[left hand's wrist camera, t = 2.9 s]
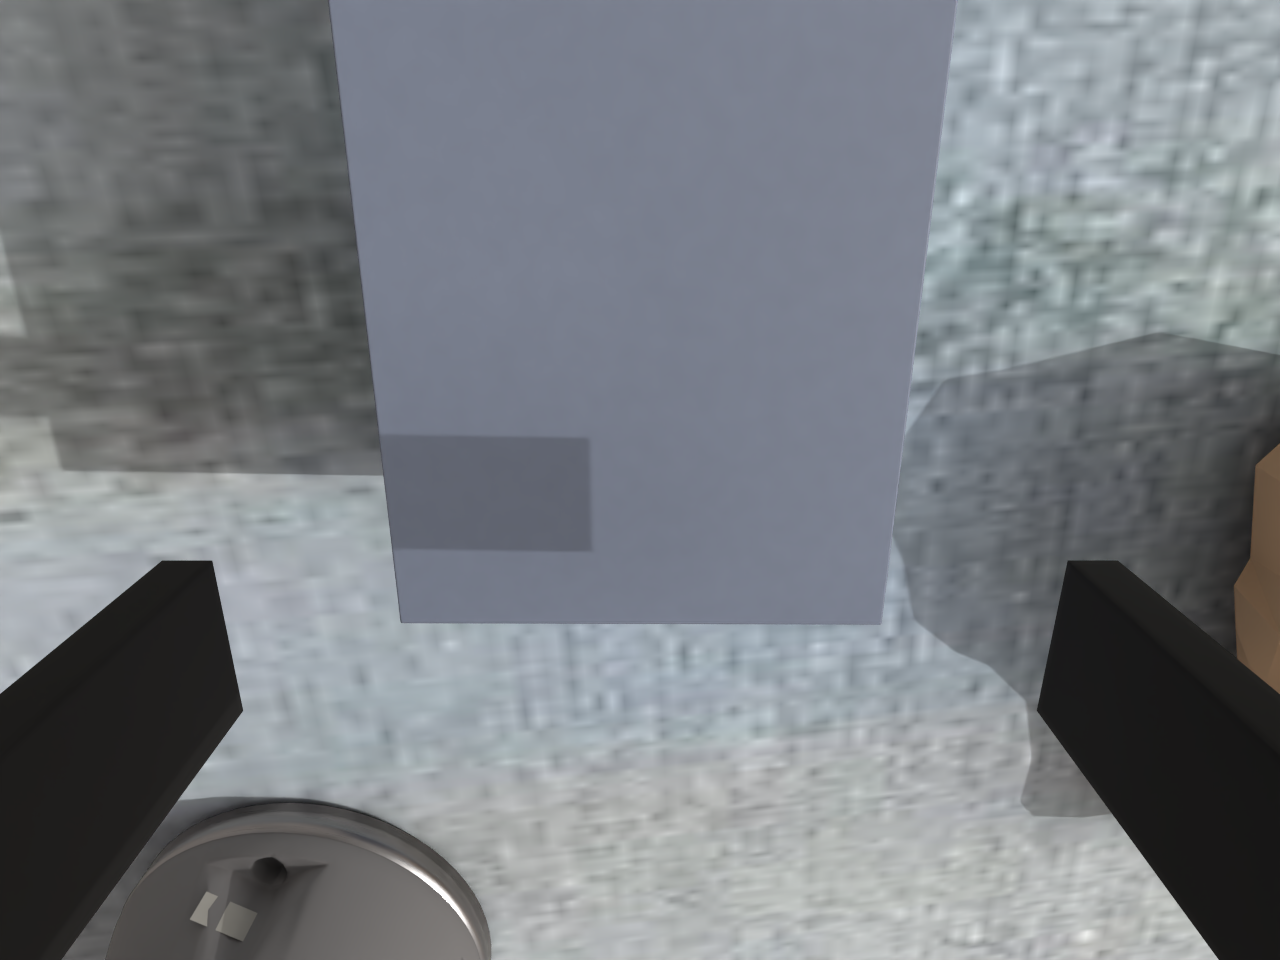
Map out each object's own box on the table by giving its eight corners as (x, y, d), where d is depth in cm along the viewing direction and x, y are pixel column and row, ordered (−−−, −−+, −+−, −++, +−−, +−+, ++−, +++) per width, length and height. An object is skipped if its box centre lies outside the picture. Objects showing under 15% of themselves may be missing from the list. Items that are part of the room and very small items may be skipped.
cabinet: (435, -101, 22) (293, -284, 13) (851, -100, 22) (993, -283, 13) (477, 477, 28) (399, 623, 19) (805, 478, 28) (881, 625, 19)
